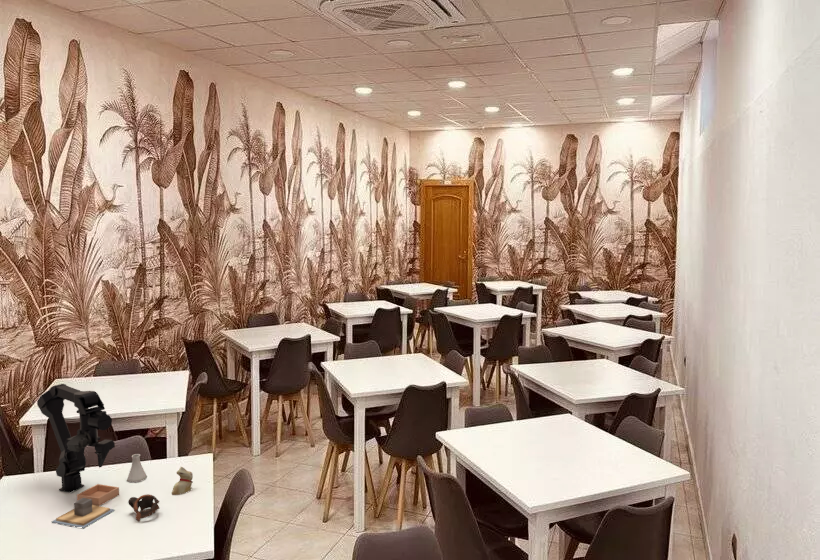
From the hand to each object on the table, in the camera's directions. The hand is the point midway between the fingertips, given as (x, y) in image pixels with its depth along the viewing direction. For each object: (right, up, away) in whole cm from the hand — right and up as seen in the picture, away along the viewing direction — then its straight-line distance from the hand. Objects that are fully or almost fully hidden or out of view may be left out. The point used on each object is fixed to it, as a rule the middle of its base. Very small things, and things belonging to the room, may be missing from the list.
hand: (90, 465), depth 235 cm
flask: (+10, -11, +17) cm, 22 cm away
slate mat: (+5, -14, -15) cm, 21 cm away
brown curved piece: (+26, -14, -13) cm, 32 cm away
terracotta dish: (+3, -12, -1) cm, 13 cm away
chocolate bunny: (+33, -12, +6) cm, 35 cm away
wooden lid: (+5, -13, -15) cm, 21 cm away
